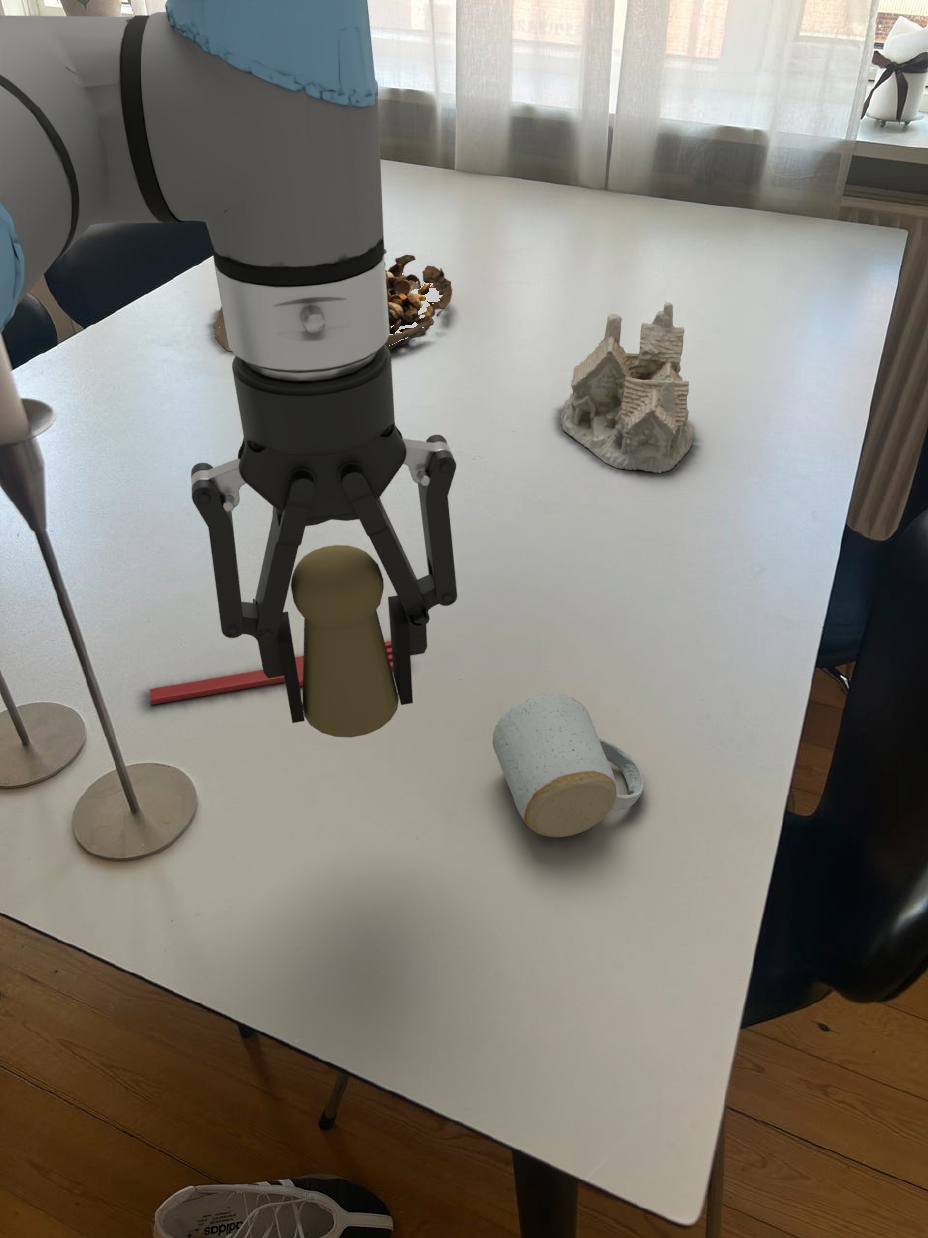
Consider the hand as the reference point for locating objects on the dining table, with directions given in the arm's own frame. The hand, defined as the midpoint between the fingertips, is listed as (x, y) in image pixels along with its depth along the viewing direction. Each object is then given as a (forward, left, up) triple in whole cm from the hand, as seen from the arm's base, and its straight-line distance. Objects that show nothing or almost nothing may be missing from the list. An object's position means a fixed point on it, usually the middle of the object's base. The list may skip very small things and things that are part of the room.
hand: (350, 697), depth 60 cm
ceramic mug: (+15, +5, -15) cm, 22 cm away
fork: (-10, +17, -15) cm, 25 cm away
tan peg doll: (0, 0, -1) cm, 1 cm away
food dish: (-15, +94, -15) cm, 97 cm away
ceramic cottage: (+24, +60, -15) cm, 66 cm away
